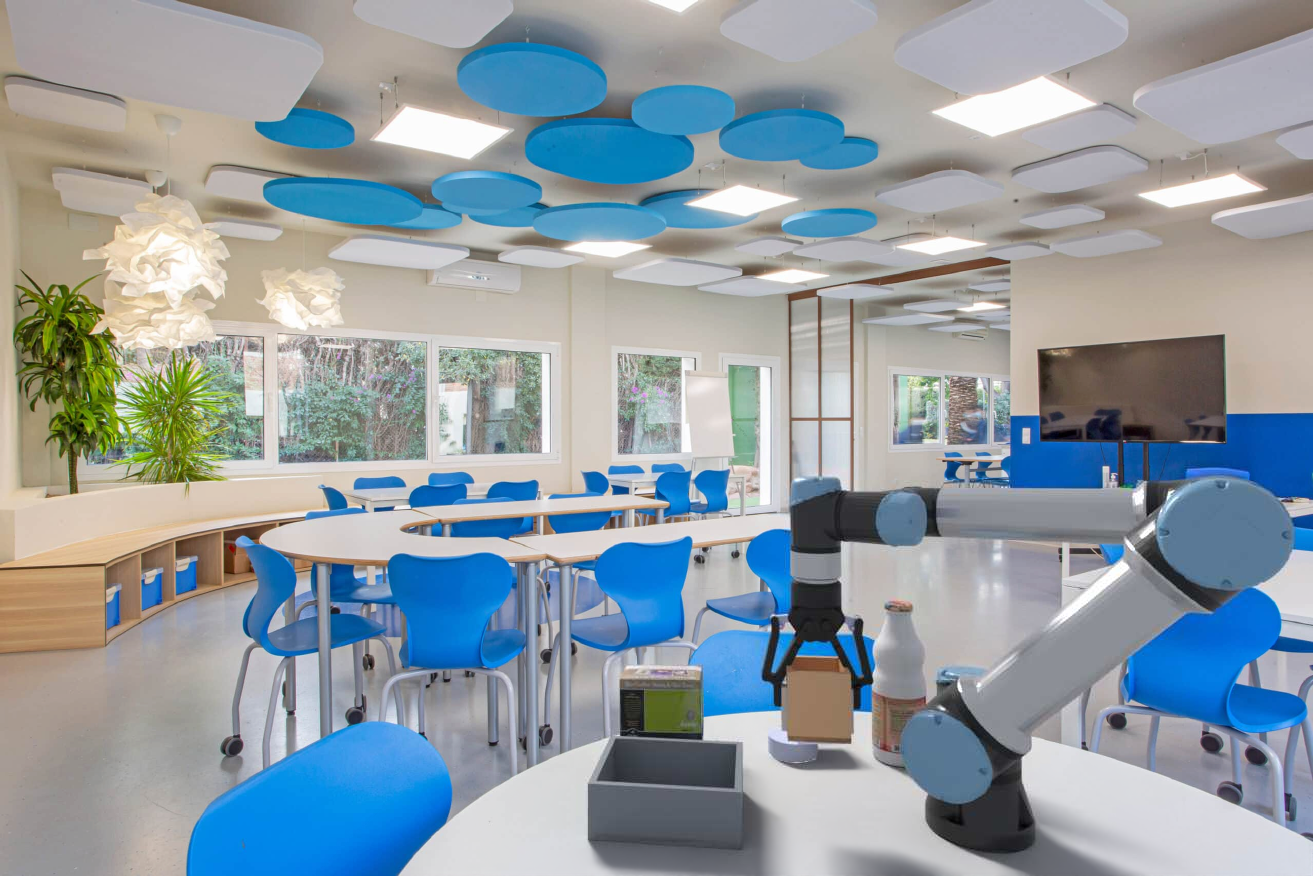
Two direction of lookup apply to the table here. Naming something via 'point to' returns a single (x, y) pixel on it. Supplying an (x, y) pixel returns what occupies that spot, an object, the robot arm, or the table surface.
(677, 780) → the large crate
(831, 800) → the table surface
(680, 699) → the tea box
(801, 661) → the small crate
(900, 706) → the fruit juice
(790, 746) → the wedge on round base
